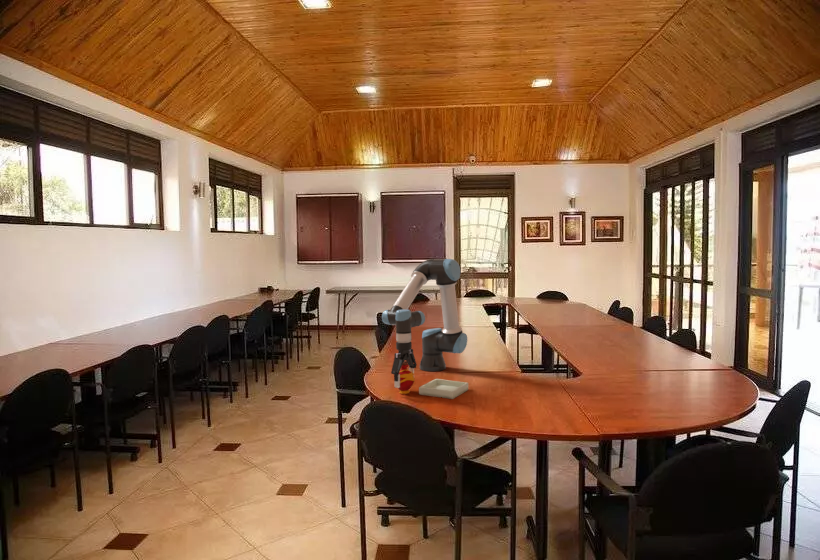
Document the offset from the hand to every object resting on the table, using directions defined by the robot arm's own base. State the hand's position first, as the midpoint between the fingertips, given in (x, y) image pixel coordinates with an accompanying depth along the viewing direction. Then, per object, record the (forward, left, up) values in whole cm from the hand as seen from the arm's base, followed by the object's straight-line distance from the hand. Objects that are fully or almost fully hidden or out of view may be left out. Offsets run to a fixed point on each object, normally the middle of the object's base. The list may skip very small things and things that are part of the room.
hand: (404, 384), depth 264 cm
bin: (-9, +17, -4) cm, 20 cm away
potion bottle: (0, 0, -4) cm, 4 cm away
